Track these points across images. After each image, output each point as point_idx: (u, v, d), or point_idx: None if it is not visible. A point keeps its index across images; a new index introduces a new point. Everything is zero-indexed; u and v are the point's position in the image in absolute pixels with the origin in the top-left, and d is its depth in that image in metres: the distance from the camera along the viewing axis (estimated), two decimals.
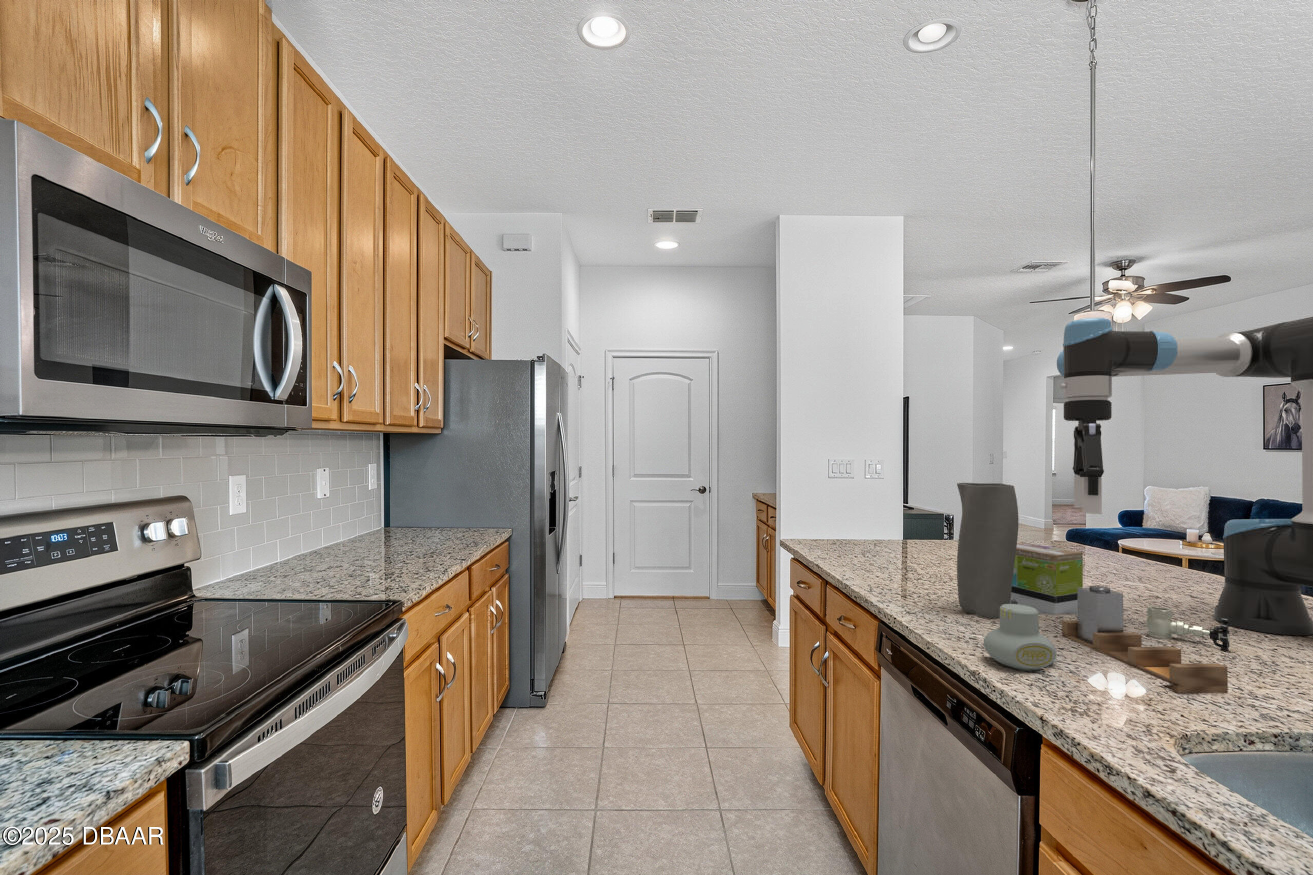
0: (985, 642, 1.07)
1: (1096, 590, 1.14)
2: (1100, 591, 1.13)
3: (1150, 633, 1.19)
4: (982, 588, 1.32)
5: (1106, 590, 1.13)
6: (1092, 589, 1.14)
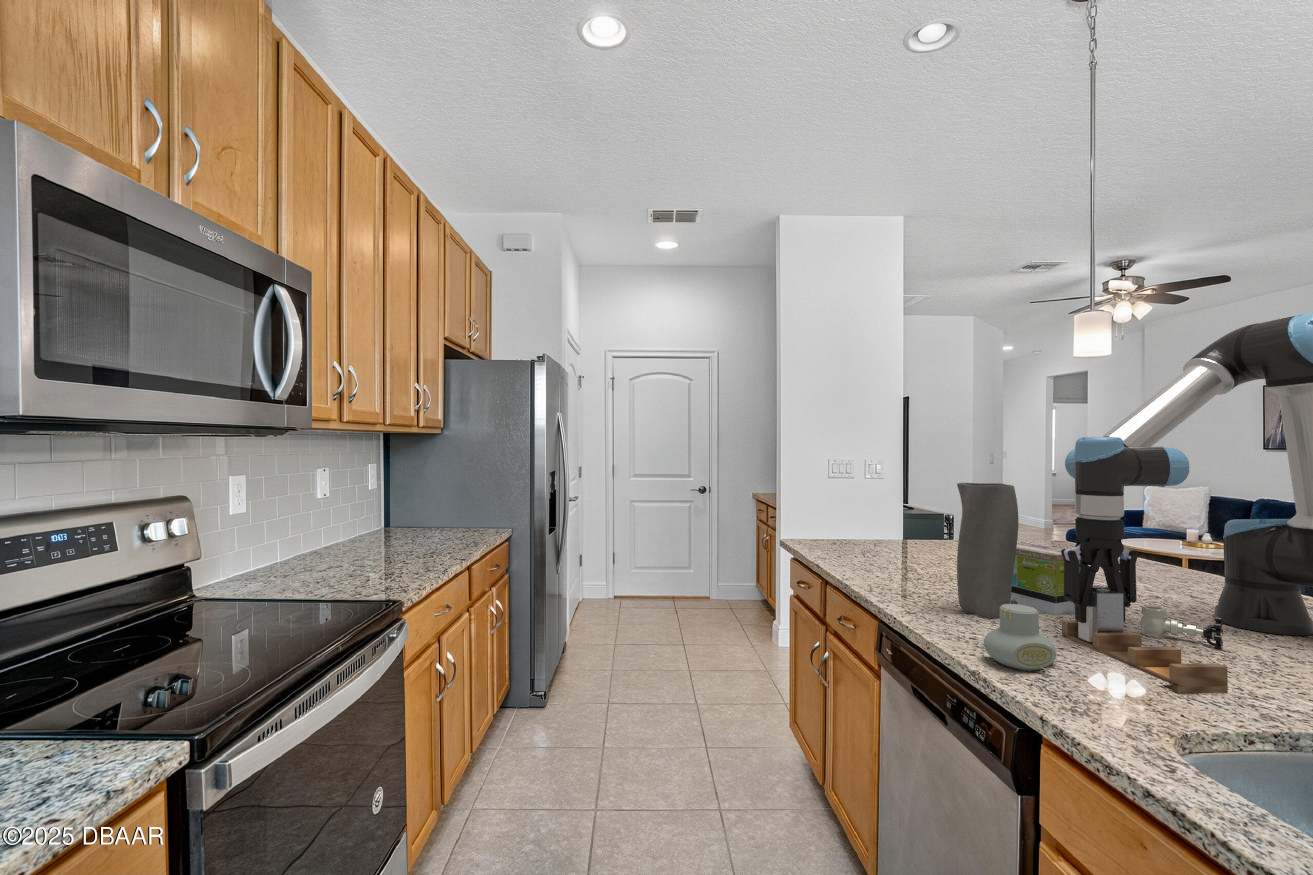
0: (985, 642, 1.07)
1: (1096, 590, 1.14)
2: (1100, 591, 1.13)
3: (1144, 632, 1.20)
4: (982, 588, 1.32)
5: (1106, 590, 1.13)
6: (1092, 589, 1.14)
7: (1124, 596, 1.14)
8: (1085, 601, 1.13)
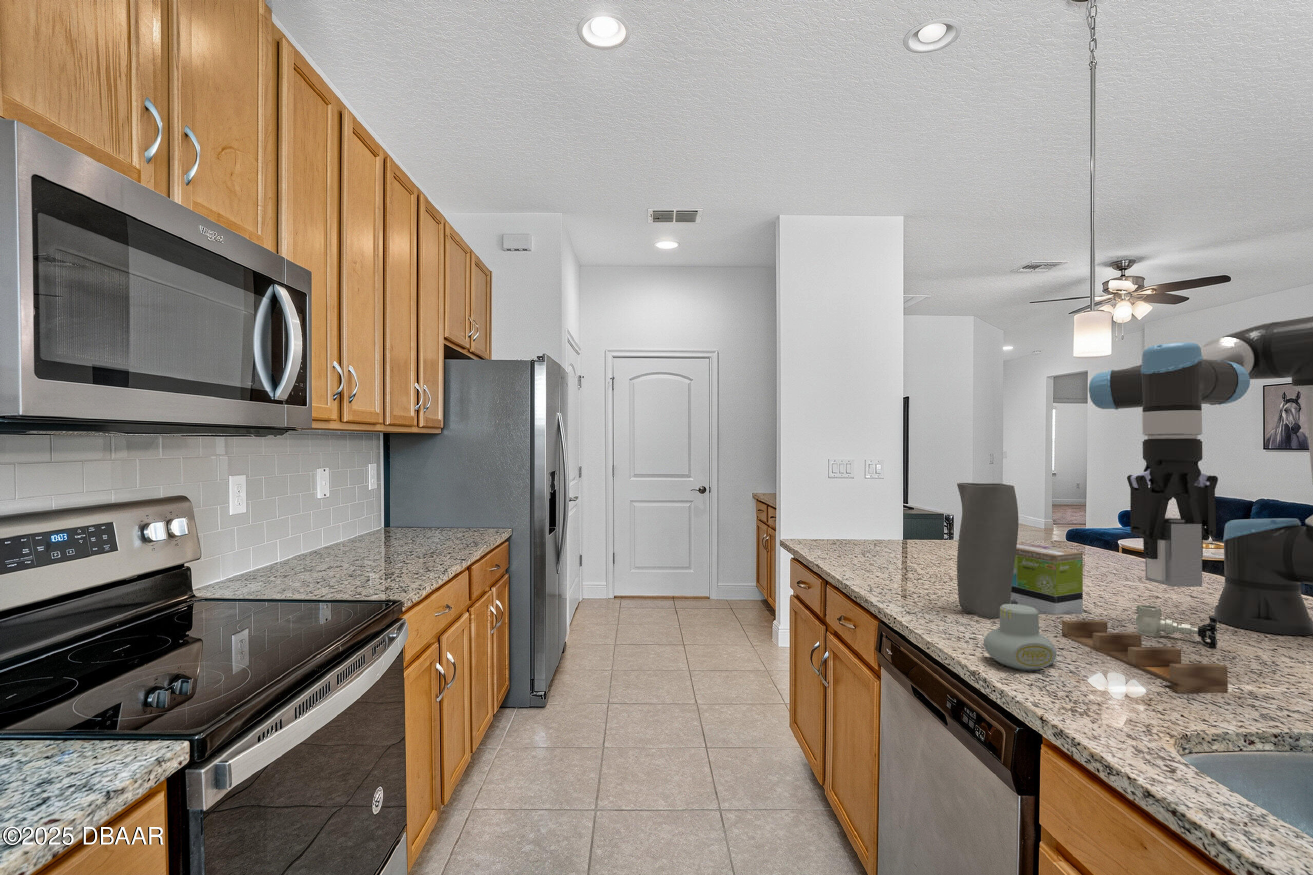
0: (985, 642, 1.07)
1: (1169, 521, 0.98)
2: (1174, 522, 0.98)
3: (1139, 631, 1.21)
4: (982, 588, 1.32)
5: (1181, 521, 0.98)
6: (1164, 520, 0.99)
7: (1201, 528, 0.98)
8: (1156, 534, 0.98)
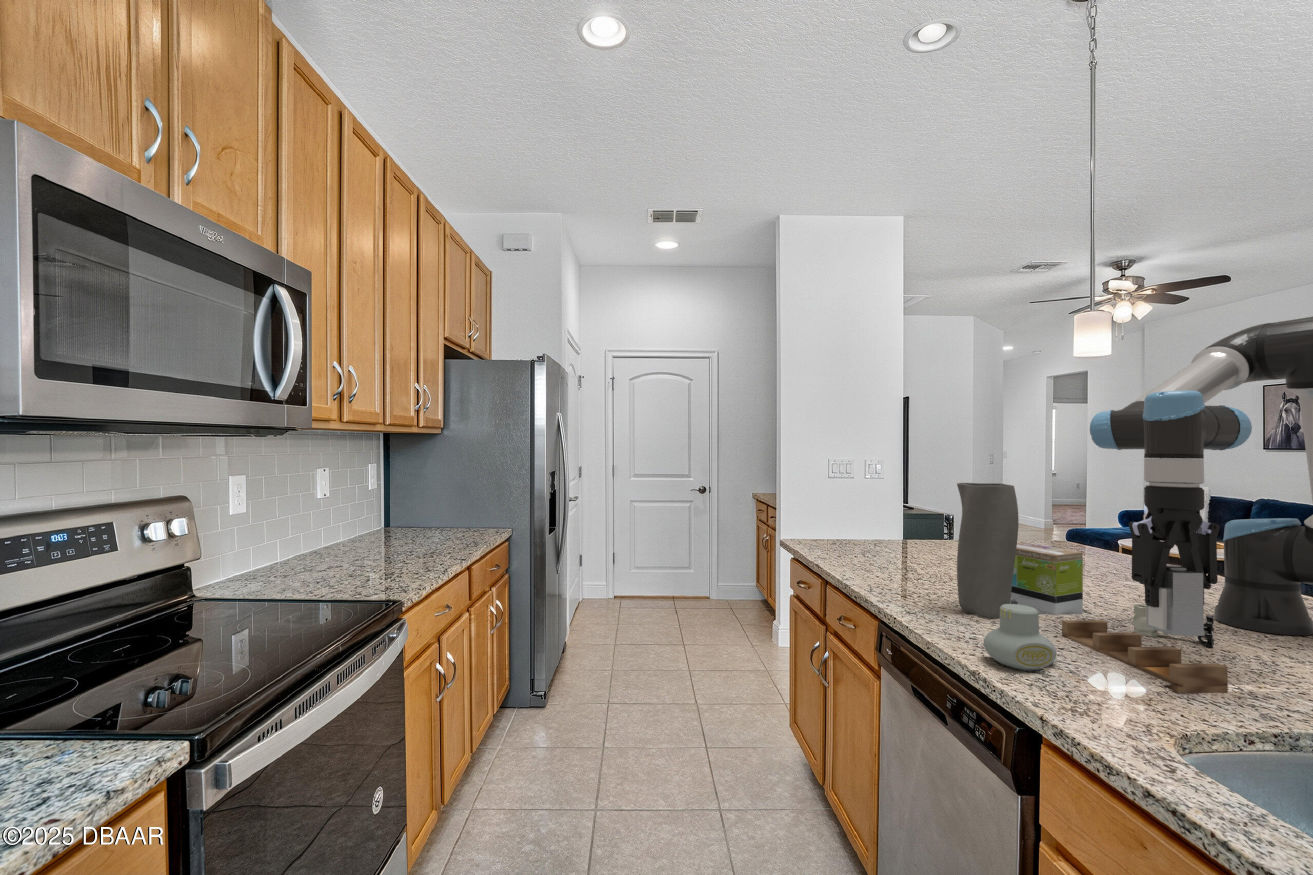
0: (985, 642, 1.07)
1: (1170, 569, 0.98)
2: (1175, 570, 0.97)
3: (1137, 631, 1.21)
4: (982, 588, 1.32)
5: (1183, 569, 0.97)
6: None
7: (1203, 576, 0.98)
8: (1158, 582, 0.97)
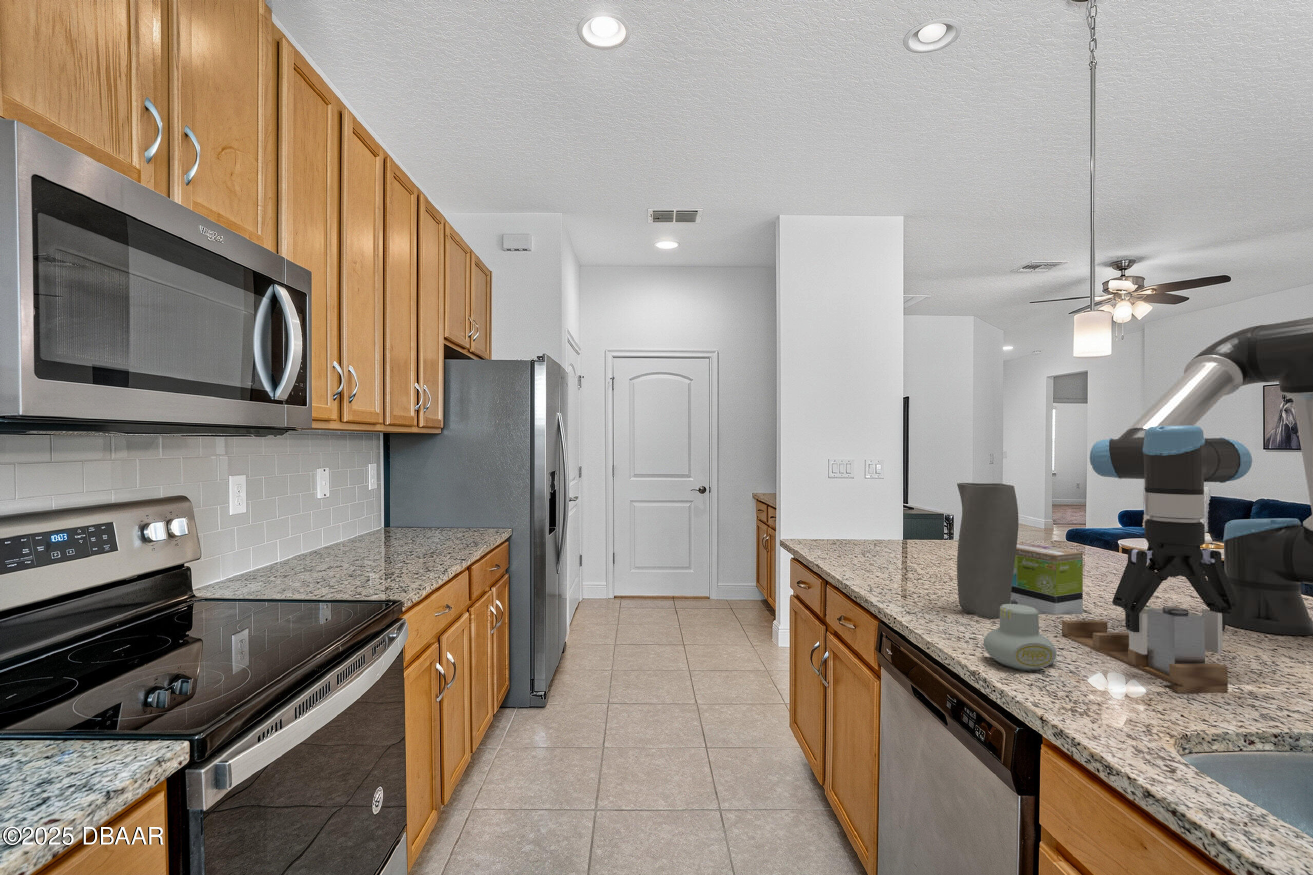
0: (985, 642, 1.07)
1: (1172, 612, 0.98)
2: (1177, 613, 0.97)
3: None
4: (982, 588, 1.32)
5: (1184, 612, 0.97)
6: (1166, 611, 0.98)
7: (1221, 601, 0.98)
8: (1139, 607, 0.97)
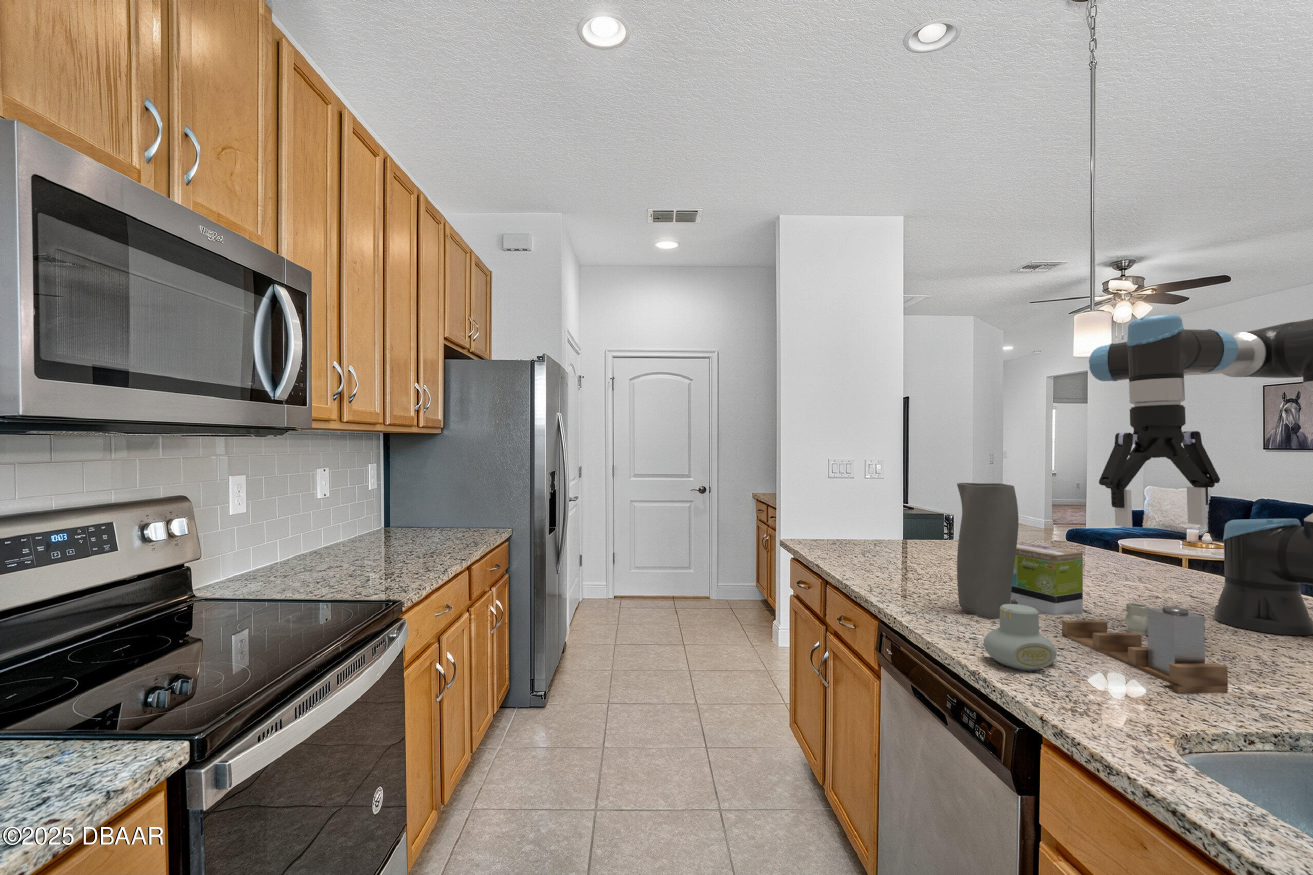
0: (985, 642, 1.07)
1: (1172, 612, 0.98)
2: (1177, 613, 0.97)
3: (1129, 629, 1.22)
4: (982, 588, 1.32)
5: (1184, 612, 0.97)
6: (1166, 611, 0.98)
7: (1204, 477, 1.05)
8: (1124, 484, 1.04)
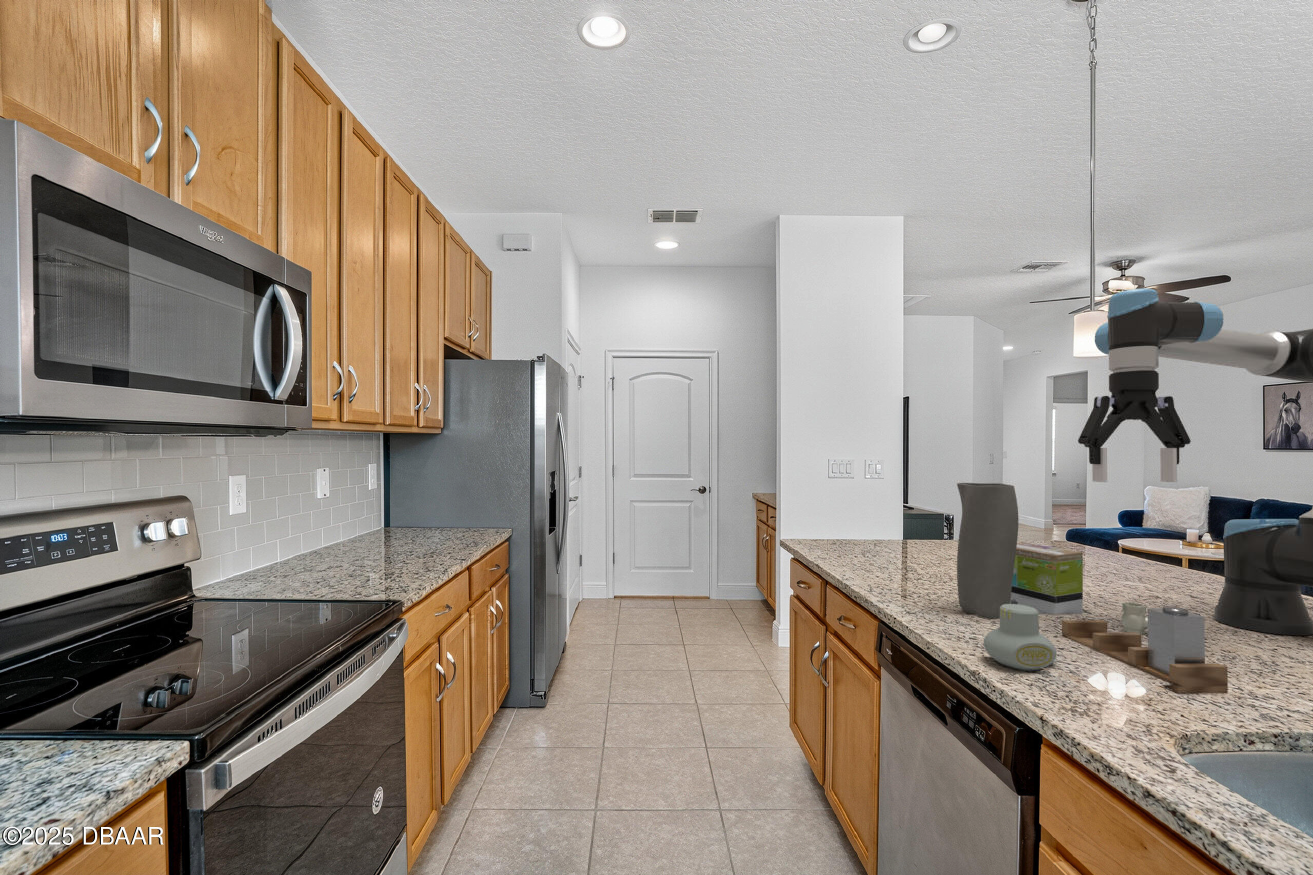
0: (985, 642, 1.07)
1: (1172, 612, 0.98)
2: (1177, 613, 0.97)
3: (1125, 629, 1.22)
4: (982, 588, 1.32)
5: (1184, 612, 0.97)
6: (1166, 611, 0.98)
7: (1175, 438, 1.14)
8: (1100, 442, 1.14)
